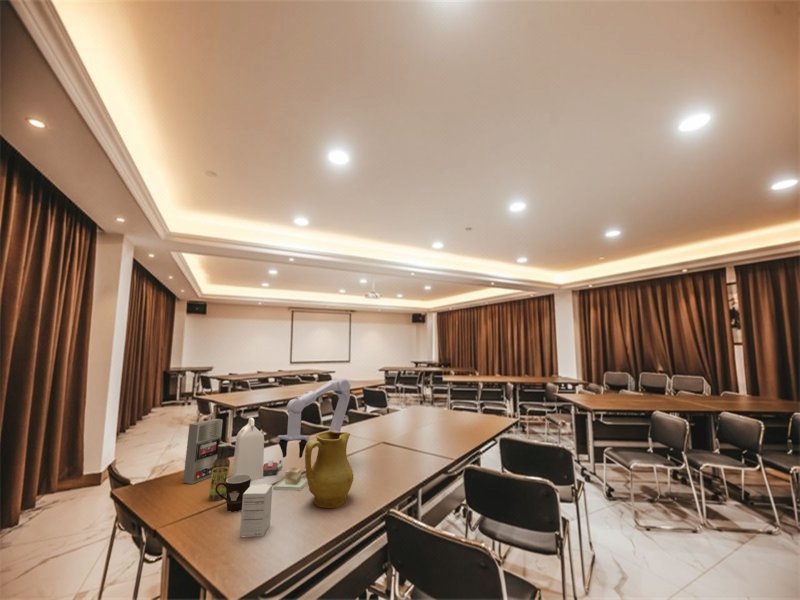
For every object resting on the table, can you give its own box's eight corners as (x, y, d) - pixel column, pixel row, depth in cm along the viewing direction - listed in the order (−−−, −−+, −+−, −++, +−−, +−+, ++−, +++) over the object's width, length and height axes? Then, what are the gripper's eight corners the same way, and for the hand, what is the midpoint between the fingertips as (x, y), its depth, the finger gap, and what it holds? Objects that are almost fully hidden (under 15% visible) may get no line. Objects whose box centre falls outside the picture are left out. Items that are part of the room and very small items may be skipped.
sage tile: (311, 479, 146) (311, 477, 146) (300, 490, 134) (300, 487, 135) (285, 478, 147) (285, 476, 147) (273, 489, 135) (273, 486, 136)
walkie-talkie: (281, 476, 151) (282, 463, 170) (281, 466, 152) (283, 454, 171) (260, 478, 148) (264, 465, 167) (261, 468, 149) (265, 456, 168)
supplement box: (247, 525, 106) (250, 484, 109) (270, 524, 107) (273, 483, 109) (238, 537, 99) (242, 493, 101) (263, 536, 100) (266, 492, 102)
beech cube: (300, 480, 143) (301, 468, 144) (296, 484, 138) (296, 472, 139) (290, 479, 144) (290, 467, 145) (285, 484, 139) (285, 471, 140)
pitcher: (353, 509, 117) (355, 437, 122) (300, 513, 114) (304, 439, 119) (352, 490, 134) (354, 427, 138) (306, 493, 131) (309, 429, 135)
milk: (263, 478, 148) (267, 419, 153) (235, 483, 142) (240, 422, 146) (257, 470, 158) (261, 415, 162) (231, 475, 151) (236, 417, 156)
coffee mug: (254, 504, 121) (256, 476, 123) (236, 515, 113) (238, 484, 115) (230, 500, 125) (233, 472, 127) (211, 510, 117) (214, 480, 119)
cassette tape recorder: (192, 484, 140) (198, 425, 145) (182, 483, 142) (188, 424, 147) (219, 474, 153) (224, 419, 158) (209, 472, 155) (214, 418, 160)
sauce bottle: (207, 502, 123) (212, 447, 127) (209, 496, 129) (214, 443, 132) (226, 499, 126) (230, 445, 129) (227, 493, 131) (232, 442, 135)
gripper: (275, 427, 146) (273, 459, 144) (306, 428, 145) (304, 460, 143) (282, 424, 153) (280, 454, 151) (311, 424, 152) (310, 455, 150)
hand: (292, 457), depth 147 cm, fingers open, 7 cm apart
